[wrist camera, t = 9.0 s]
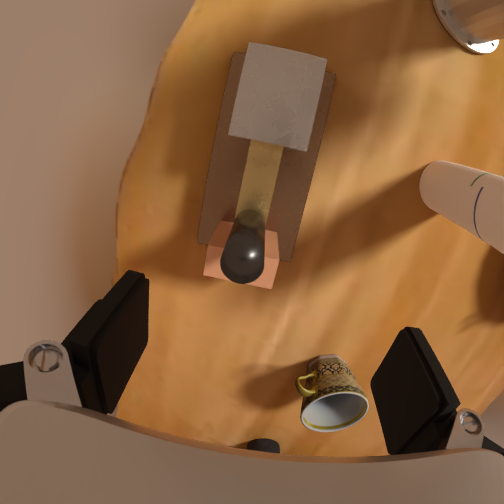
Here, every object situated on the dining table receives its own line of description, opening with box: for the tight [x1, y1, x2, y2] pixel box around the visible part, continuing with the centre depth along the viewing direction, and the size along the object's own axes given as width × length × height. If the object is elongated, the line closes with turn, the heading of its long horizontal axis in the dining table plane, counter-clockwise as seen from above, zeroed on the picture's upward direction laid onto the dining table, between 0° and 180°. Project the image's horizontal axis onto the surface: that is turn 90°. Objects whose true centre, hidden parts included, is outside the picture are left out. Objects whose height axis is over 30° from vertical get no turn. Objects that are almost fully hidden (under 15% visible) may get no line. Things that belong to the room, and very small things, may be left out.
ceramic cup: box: [295, 354, 369, 432], centre depth 41 cm, size 13×10×10 cm
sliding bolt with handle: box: [220, 139, 284, 284], centre depth 25 cm, size 16×3×12 cm, turn 168°
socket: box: [203, 221, 279, 289], centre depth 33 cm, size 3×7×8 cm, turn 78°
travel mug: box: [247, 439, 280, 454], centre depth 47 cm, size 8×8×20 cm
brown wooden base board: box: [197, 42, 336, 262], centre depth 30 cm, size 24×12×9 cm, turn 168°
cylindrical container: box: [419, 160, 504, 254], centre depth 22 cm, size 7×7×25 cm
